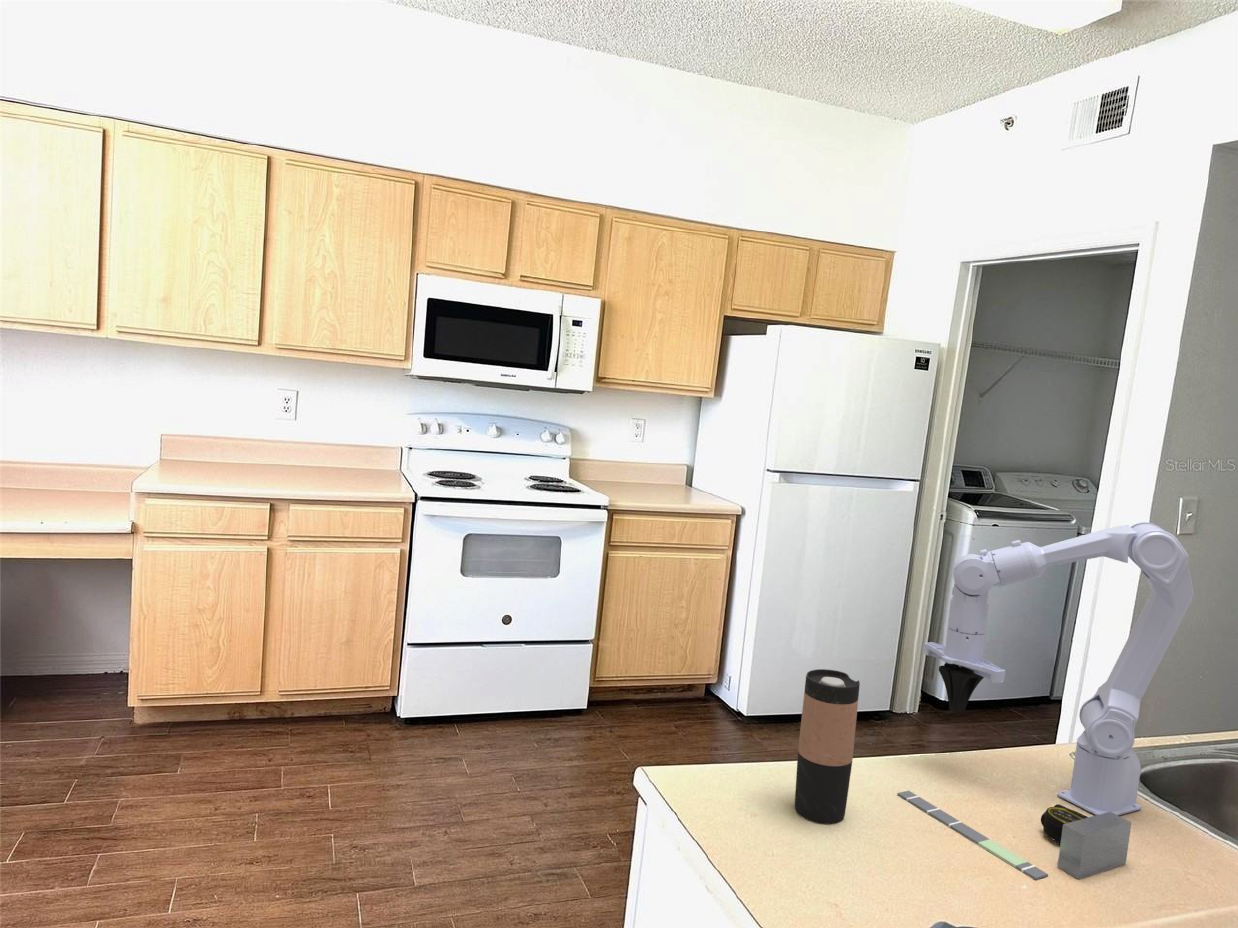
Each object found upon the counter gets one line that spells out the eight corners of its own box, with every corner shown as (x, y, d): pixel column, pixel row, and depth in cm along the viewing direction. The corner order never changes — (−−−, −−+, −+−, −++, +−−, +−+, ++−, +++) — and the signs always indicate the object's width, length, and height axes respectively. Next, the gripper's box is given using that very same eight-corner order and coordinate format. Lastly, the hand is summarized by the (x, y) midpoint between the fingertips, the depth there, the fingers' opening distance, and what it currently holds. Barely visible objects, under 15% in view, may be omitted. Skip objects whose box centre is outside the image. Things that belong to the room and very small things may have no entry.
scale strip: (908, 792, 134) (909, 789, 134) (1048, 876, 113) (1048, 873, 113) (897, 794, 133) (897, 792, 133) (1035, 880, 112) (1035, 877, 112)
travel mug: (787, 816, 124) (801, 680, 122) (797, 794, 131) (810, 665, 129) (842, 830, 121) (857, 691, 119) (849, 806, 128) (863, 675, 126)
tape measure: (1103, 846, 123) (1107, 820, 122) (1078, 858, 119) (1082, 832, 118) (1056, 823, 128) (1059, 799, 128) (1030, 835, 124) (1034, 810, 124)
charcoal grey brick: (1100, 850, 121) (1106, 809, 120) (1125, 864, 118) (1131, 821, 117) (1053, 864, 116) (1059, 822, 116) (1078, 879, 113) (1084, 835, 112)
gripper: (914, 618, 145) (905, 697, 146) (986, 645, 132) (976, 731, 133) (944, 615, 148) (935, 692, 149) (1018, 641, 135) (1007, 725, 137)
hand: (956, 710), depth 142 cm, fingers closed
